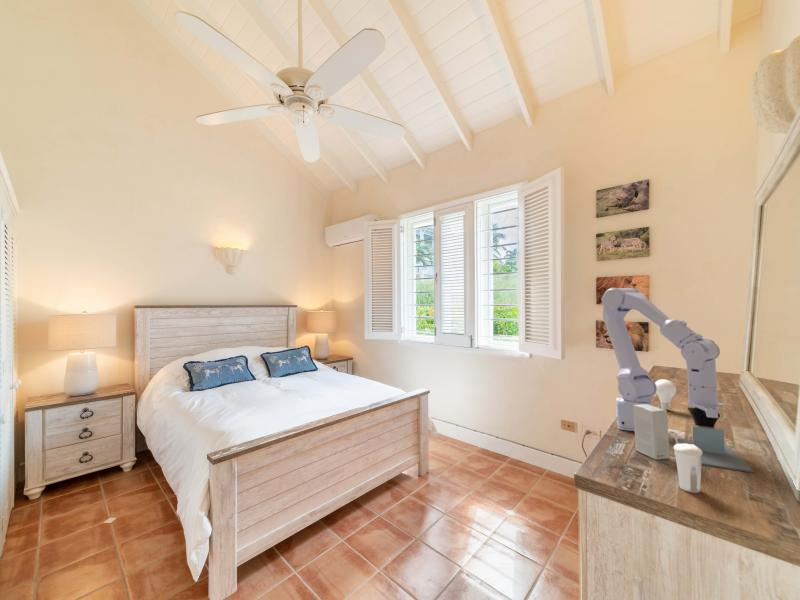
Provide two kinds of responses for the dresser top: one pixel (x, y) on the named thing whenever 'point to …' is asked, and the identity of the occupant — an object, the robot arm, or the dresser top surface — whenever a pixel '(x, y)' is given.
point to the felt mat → (721, 459)
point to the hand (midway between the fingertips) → (704, 437)
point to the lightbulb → (665, 392)
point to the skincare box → (651, 431)
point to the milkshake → (688, 466)
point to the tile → (708, 439)
